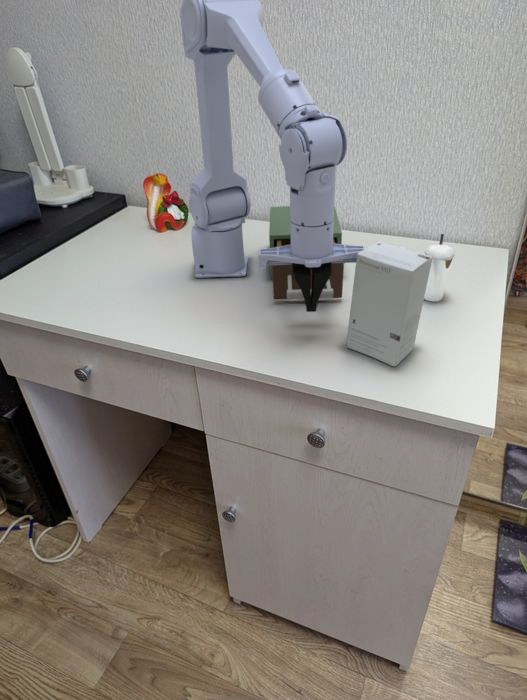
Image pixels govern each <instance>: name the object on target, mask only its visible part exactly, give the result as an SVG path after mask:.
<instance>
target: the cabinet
mask: <svg viewBox="0 0 527 700" xmlns="http://www.w3.org/2000/svg"><path fill="white" fill-rule="evenodd" d="M269 209H270V210H269V228H268V229H269V231H268V232H269V233H268V235H269V236H268V237H269V238H268V239H269V241H268V242H269V248H275V247H277V239H291V234H290V205H289V206H288V205H287V206H286V205H285V206H270V207H269ZM333 237H334V240H335V244H342V243H343V242H342V241H343V239H342V238H343V232H342V228H341V224H340V220H339V217H338V213H337V209H336V206H335V205H334V228H333ZM269 266H270V280H272V281H273V268H272V265H269Z"/></svg>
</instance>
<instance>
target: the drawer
mask: <svg viewBox="0 0 527 700" xmlns="http://www.w3.org/2000/svg"><path fill="white" fill-rule="evenodd" d="M333 244H335V240H334V237H333ZM286 245H291V239H277V247H280V246H286ZM344 266H345V263H331V268H332V273H331V276H330V278H329V280H328V281H327V283H326V285H325V286H324V288H323V290H322V292H321V295H320V297H319V299H342V298H343V285H344V284H343V283H344V268H345V267H344ZM272 268H273V280H272V288H273V289H272V291H273V292H272V293H273V300H274V301H276V300H304V296H303V294H302V291H301V289H300V287H299V285H298V283H297V281H296V280H295V278H294V275H293V268H292V265H272ZM310 272H311V289H312V267H310ZM310 295H311V291H310Z"/></svg>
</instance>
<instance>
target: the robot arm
mask: <svg viewBox="0 0 527 700" xmlns="http://www.w3.org/2000/svg"><path fill="white" fill-rule="evenodd" d="M263 9H264V7H263V5H262V3H261V2H260V0H182V3H181V7H180V9H179V19H180V28H181V36H182V46H183V49H184V57H185V58H187V59H189V60H191V61H193V65H194V66H193V67H194V78H195V87H196V97H197V107H198V108H197V109H198V118H199V129H200V139H201V149H202V150H201V151H202V160H203V161H202V162H203V169H202V170H201V171H200V172H199V173H198V174H197V175H196V176H195V177H194V178H193V179H192V180H191V182H190V183H189V185H190V187H189V190H190V191H189V192H190V193H189V195H190V196H189V203H188V205H189V211H190V214H191V218H192V220H193V221H194V223H195V224H193V225H192V226H191V248H192V255H193V262H194V270H195V278H199V279H200V278H201V279H202V278H233V277H236V278H237V277H246V276H247V269H248V263H249V257H248V256H245V249H244V235H243V224H245V223H246V218H248V217H249V215H250V212H251V209H252V200H251V196H250V193H249V189H248V182H247V179H246V178H245V176H244V175H242V173H240V172H238V171H237V170H235V169H234V154H233V138H232V121H231V105H230V89H229V71H228V67H229V64H230V63H231V62H232V60H233V59H234V57H235V55H236V56H237V57H238V59H239V60H240V61H241V63H242V65H244V67H245V68H246V69H247V71H248V72H249V74H250V75H251V76H252V78H253V79H254V80H255V82H256V84H258V86H259V90H258V94H257V101H258V103H259V106H260V107H261V109H262V110H263V112H264V114H265V115H266V118H267V119H268V120H269V123H270V124H271V125H272V127H273V129H274V131H275V132H276V134H277V136H278V137H279V140H280V144H279V145H278V150H279V156H280V160H281V163H282V165H283V168H284V178H285V179H284V180H285V182H286V185H287V186H288V187H289V206H290V234H291V245H286V246H280V247H275V248H270V247H269V248H259V249H258V268H263V269H265V268H268V266H270V265H292V268H293V275H294V278H295V280H296V281H297V283H298V285H299V287H300V289H301V291H302V294H303V296H304V299H303V300H304V303H305V309H306V310H305V311H306V312H307V313H315V312H317V308H318V303H319V300H320V298H319V297H320V295H321V292H322V290H323V288H324V286H325V285H326V283H327V281H328V280H329V278H330V276H331V273H332V268H331V263H344V264H350V263H351V264H353V263H355V264H356V260H357V254H358V253H359V252H360V251H362V250H364V249H366V247H365V246H364V245H354V244H353V245H352V244H333V228H334V206H335V199H336V198H335V194H336V175H337V173H336V172H337V167H338V166H339V165H340V164H341V163H342V162H344V159H345V157H346V155H347V151H348V139H347V133H346V130H345V128H344V125H343V123H342V121H341V119H340V118H338V117H337V116H336V115H334V114H333V115H332V114H328V112H327V111H326V110H320V108H319V107H318V105H317V103H316V101H315V100H314V99H313V96H311V94H310V92H309V91H308V89H307V87H306V86H305V84H304V82H303V81H302V80H301V77H300V76H299V75H298V72H296V71H294V70H293V69H289V68H283V65H282V64H281V62H280V59H279V58H278V55H277V54H276V52H275V50H274V48H273V46H272V44H271V42H270V40H269V37H268V36H267V34H266V33H267V32H266V31H265V30H264V10H263ZM310 267H312V289H311V272H310ZM310 291H311V295H310Z"/></svg>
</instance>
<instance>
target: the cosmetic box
mask: <svg viewBox="0 0 527 700" xmlns="http://www.w3.org/2000/svg"><path fill="white" fill-rule="evenodd" d="M431 263H432V257H431V256H428V255H425V253H421V252H417V251H415V250H411V249H409V248H406V247H404V246H399V245H393V244H389V243H386V242H382V241H378V240H377V241H376V242H374V243H372V244H371V245H369V246H367V247H365V249H364V250H362V251H360V252H359V253H358V254H357V260H356V263H355V268H354V269H355V270H354V277H353V286H352V295H351V302H350V310H349V320H348V329H347V336H346V347H347V348H348V349H350V350H353V351H356V352H358V353H361V354H363V355H366V356H368V357H371V358H374V359H376V360H378V361H380V362H382V363H385V364H387V365H389V366H391V367H397V365H398V364H400V363H401V362H402V361H403V360H404V359H405V358H406V357H407V356H408V355H409V354H410V353H411V352H412V351H414V348H415V342H416V337H417V333H418V329H419V323H420V319H421V314H422V310H423V306H424V300H425V299H424V296H425V291H426V287H427V282H428V277H429V272H430V268H431Z"/></svg>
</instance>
